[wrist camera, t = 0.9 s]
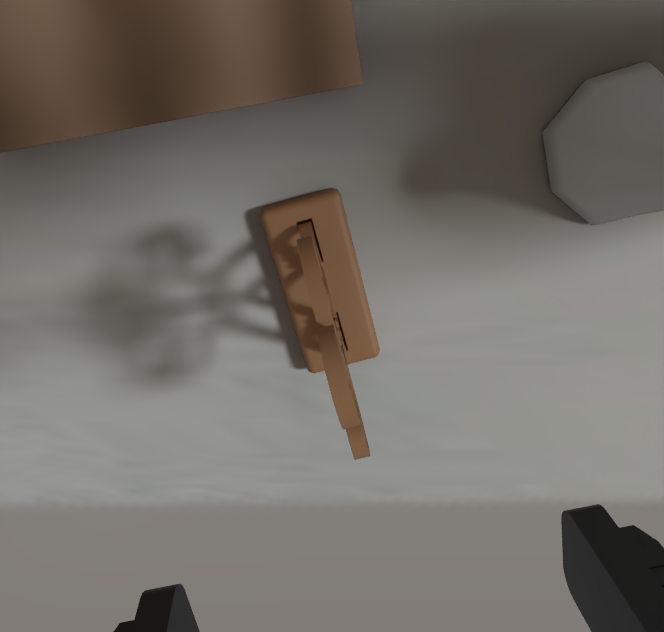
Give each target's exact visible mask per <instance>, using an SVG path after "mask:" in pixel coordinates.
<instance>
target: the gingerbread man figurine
mask: <svg viewBox="0 0 664 632" xmlns="http://www.w3.org/2000/svg"><path fill="white" fill-rule="evenodd" d="M260 217H261V221H262V224H263V227H264V230H265V234H266V237H267V240H268V243H269V247H270V250H271V253H272V256H273V260H274V263H275V266H276V269H277V272H278V276H279V279H280V282H281V285H282V289H283V292H284V295H285V298H286V302H287V305H288V308H289V311H290V314H291V318H292V321H293V324H294V327H295V331H296V334H297V337H298V340H299V344H300V347H301V350H302V353H303V356H304V360H305V363H306V366H307V369H308V371H309V372H311V373H317V372H321V371H324V370H325V372H326V376H327V380H328V384H329V388H330V391H331V395H332V398H333V402H334V405H335V408H336V412H337V415H338V418H339V421H340V424H341V426H342V428H343V429H346V432H347V435H348V439H349V443H350V446H351V450H352V453H353V456H354V459H355V460H356V459H360V458H364V457H367V456H370V451H369V446H368V442H367V438H366V434H365V430H364V426H363V422H362V418H361V414H360V410H359V406H358V403H357V399H356V395H355V391H354V388H353V384H352V380H351V377H350V373H349V369H348V365H347V364H351V363H354V362H358V361H362V360H366V359H369V358H373V357H376V356H377V355H378V354H379V351H380V349H379V345H378V341H377V337H376V333H375V329H374V325H373V321H372V317H371V313H370V309H369V305H368V301H367V298H366V294H365V290H364V286H363V282H362V278H361V274H360V270H359V266H358V262H357V258H356V254H355V250H354V246H353V242H352V238H351V235H350V231H349V227H348V223H347V219H346V215H345V211H344V207H343V203H342V199H341V195H340V193H339V191H338V190H337V189H334V188H330V189H326V190H322V191H319V192H315V193H311V194H308V195H304V196H300V197H297V198H293V199H290V200H286V201H282V202H279V203H275V204H271V205H268V206H265V207H263V209H262V210H261V214H260Z"/></svg>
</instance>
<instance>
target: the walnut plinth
mask: <svg viewBox="0 0 664 632" xmlns="http://www.w3.org/2000/svg"><path fill="white" fill-rule="evenodd" d="M361 84H363V79H362V72H361V65H360V58H359V51H358V44H357V38H356V31H355V24H354V17H353V10H352V3H351V0H0V153H1V152H6V151H12V150H17V149H22V148H27V147H33V146H38V145H43V144H49V143H54V142H59V141H65V140H70V139H75V138H80V137H86V136H91V135H96V134H102V133H107V132H112V131H117V130H123V129H128V128H133V127H139V126H144V125H149V124H155V123H160V122H165V121H170V120H176V119H181V118H186V117H192V116H197V115H202V114H208V113H213V112H218V111H223V110H229V109H234V108H239V107H245V106H250V105H255V104H260V103H266V102H271V101H276V100H282V99H287V98H292V97H298V96H303V95H308V94H313V93H319V92H324V91H329V90H335V89H340V88H345V87H351V86H356V85H361Z"/></svg>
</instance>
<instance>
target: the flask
mask: <svg viewBox="0 0 664 632" xmlns="http://www.w3.org/2000/svg"><path fill="white" fill-rule="evenodd" d="M542 134H543V140H544V147H545V153H546V160H547V167H548V173H549V180H550V187H551V191H552V192H553V193H554V194H555V195H556V196H557V197H559V198H560V199H561V200H562V201H563V202H564V203H566V204H567V205H568V206H569V207H570V208H572V209H573V210H574V211H575V212H576V213H577V214H579V215H580V216H581V217H582V218H583V219H585V220H586V221H587V222H588V223H589V224H590V225H596V224H601V223H606V222H610V221H614V220H618V219H623V218H627V217H631V216H635V215H640V214H646V213H651V212H657V211H662V210H664V75H663V74H662V73H661V72H660V71H659V70H658V69H657V68H655V67H654V66H653V65H652V64H651V63H649V62H648V61H644V62H641V63H638V64H635V65H631V66H628V67H625V68H622V69H618V70H615V71H612V72H609V73H605V74H602V75H599V76H596V77H592V78H589V79H586V80H585V81H584V82H583V83H582V85H581V86H580V87H579V88H578V89H577V91H576V92H575V93H574V94H573V95H572V97H571V98H570V99H569V100H568V102H567V103H566V104H565V105H564V106H563V108H562V109H561V110H560V111H559V113H558V114H557V115H556V116H555V117H554V119H553V120H552V121H551V122H550V123H549V125H548V126H547V127H546V128H545V130H544V131H543V132H542Z"/></svg>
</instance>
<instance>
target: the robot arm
mask: <svg viewBox="0 0 664 632" xmlns="http://www.w3.org/2000/svg"><path fill="white" fill-rule="evenodd" d="M562 546H563V568H564V573H565V578H566V581H567V585H568V587H569V590H570V593H571V595H572V597H573V599H574V601H575V603H576V605H577V606H578V608H579V610H580V612H581V614H582V615H583V617H584V619H585V621H586V623H587V624H588V626H589V628H590V630H591V632H664V548H663V547H662V546H661V544H660V543H659V542H658V541H657V540H655V539H654V538H652V537H651V536H649V535H648V534H646V533H645V532H643V531H642V530H640V529H639V528H637V527H636V526H634V525H632V526H627V527H622V528H619V527H618V526H617V525H616V523H615V522H614V521H613V519H612V518H611V517H610V515H609V514H608V513H607V512H606V510H605V509H604V508H603V507H602V506H601V505H599V504H597V505H592V506H587V507H582V508H577V509H572V510H566V511H563V513H562ZM114 632H199V629H198V626H197V623H196V620H195V618H194V615H193V612H192V609H191V606H190V603H189V601H188V598H187V595H186V592H185V589H184V587H183V586H182V585H181V584H176V585H171V586H166V587H161V588H156V589H150V590H145V591H144V592H143V593H142V595H141V598H140V602H139V605H138V609H137V613H136V617H135V620H133V621H128V622H122V623H120V624H119V625H118V626H117V628H116V629H115V631H114Z"/></svg>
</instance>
